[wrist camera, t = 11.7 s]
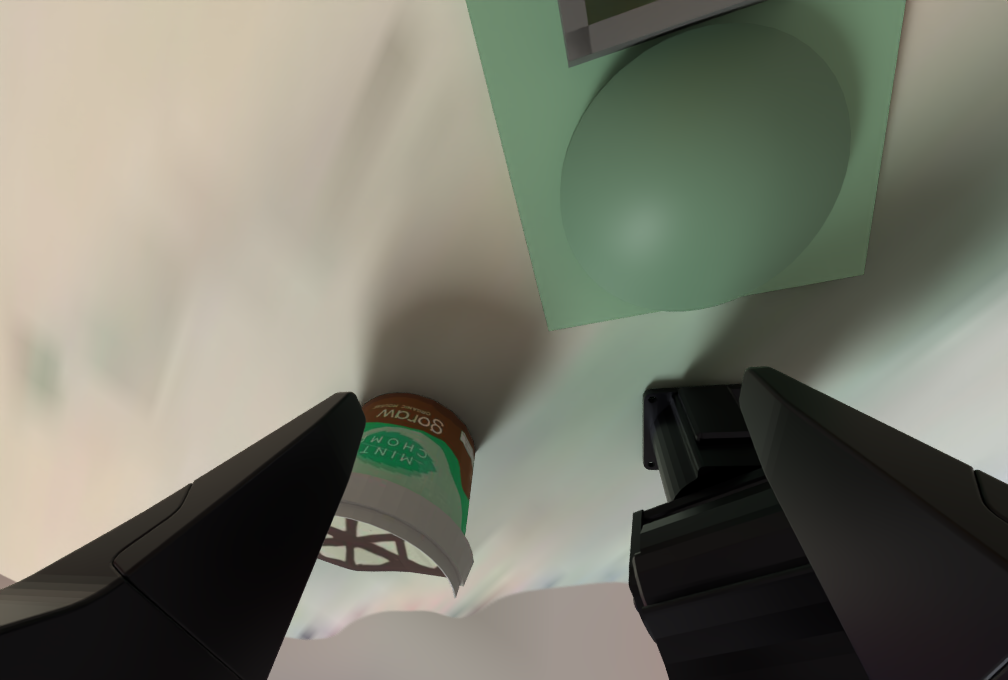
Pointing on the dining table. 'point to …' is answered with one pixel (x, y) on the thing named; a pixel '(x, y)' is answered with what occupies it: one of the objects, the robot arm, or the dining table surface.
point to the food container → (407, 493)
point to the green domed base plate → (688, 144)
